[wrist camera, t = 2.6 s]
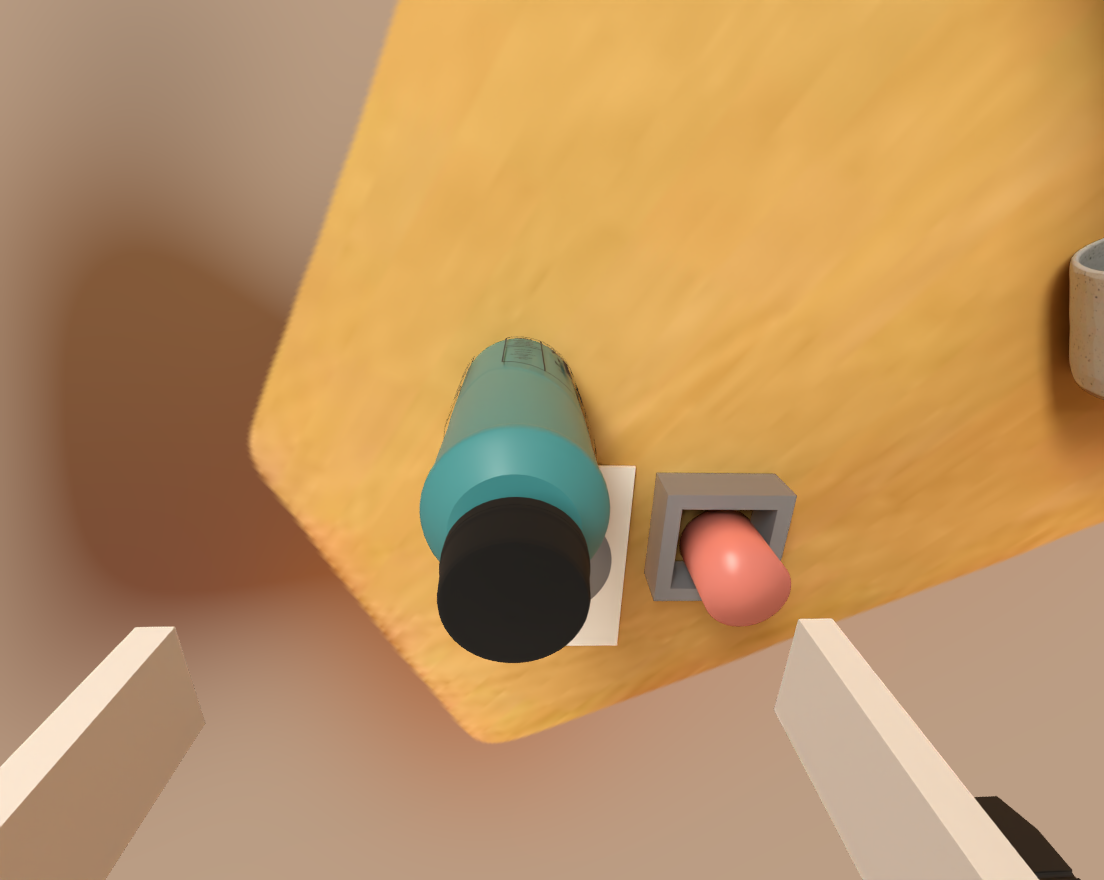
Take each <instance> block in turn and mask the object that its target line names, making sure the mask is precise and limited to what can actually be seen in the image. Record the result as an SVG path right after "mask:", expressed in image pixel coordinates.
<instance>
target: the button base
mask: <svg viewBox="0 0 1104 880" xmlns="http://www.w3.org/2000/svg"><path fill="white" fill-rule="evenodd" d="M796 498H797V495H796V494H795V493H794V492H793V491H792V490H791V489H790V488H789V487H788V486H787V485H786V484H785V483H784V482H783V481H782V480H781V479H780V478H779V477H778V476H777V475H776V474H734V473H657V474H656V482H655V490H654V498H653V506H652V514H651V522H650V530H649V538H648V546H647V554H646V562H645V570H644V574H645V576H646V579H647V582H648V585H649V588H650V591H651V594H652V597H653V600H654V601H702V599H701V597H700V595H699V593H698V591H697V588H696V586H695V584H694V582H693V580H692V578H691V575H690V573H689V571H688V569H687V567H686V565H685V563H684V561H675V555H676V548H677V541H678V535H679V528H680V521H681V515H682V509H686V510H753V511H752V516H751V523H752V524H753V525H754V527H755V528H756V529H757V531H758V532H759V533H760V535H761V536H762V537H763V539H764V540H765V541H766V543H767V544H768V545H769V547H770V548H771V549H772V551H773V552H774V553H775V555H776V556H777V557H778V559H779V560H780V561H781V558H782V554H783V550H784V546H785V542H786V538H787V534H788V530H789V526H790V522H791V518H792V514H793V510H794V506H795V502H796Z"/></svg>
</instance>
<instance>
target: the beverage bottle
mask: <svg viewBox="0 0 1104 880" xmlns="http://www.w3.org/2000/svg"><path fill="white" fill-rule="evenodd" d="M508 338H510V337H508ZM526 338H527V337H526ZM531 339H532V338H531ZM531 339H530V340H529V339H525V338H523V339H522V338H518V339H508V340H507V338H506V339H505V340H504V341H500V342H498V343H495V344H493V345H491V346H489V347H488V348H486V349H485V350H484V351H482V352H481V353H480V354H479V355H478V356H477V357H476V359H475V360H474V361H472V362H473V363H472V364H471V366H470V367H469V369H468V372H467V374H466V377H465V380H464V382H463V385H462V387H461V386H460V385H459V386H460V387H461V388H460V390H459V389H458V390H459V391H460V393H459V396H458V399H457V402H456V404H455V407H454V410H453V413H452V416H451V419H450V422H449V426H448V429H447V432H446V434H445V437H444V440H443V442H442V445H441V448H440V450H439V453H438V456H437V458H436V461H435V464H434V466H433V467H432V469H431V470H430V472H429V474H428V476H427V479H426V481H425V483H424V487H423V490H422V493H421V499H420V520H421V526H422V529H423V533H424V536H425V538H426V541H427V543H428V545H429V547H430V549H431V551H432V552H433V554H434V555H435V557H436V558H437V559H438V560H439V562H440V563H439V576H440V577H439V584H438V592H437V605H438V610H439V615H440V618H441V621H442V623H443V625H444V628H445V629H446V631H447V632H448V633H449V635H450V636H451V637H452V638H453V640H454V641H455V642H457V643H458V644H459V645H460V646H461V647H463V648H464V649H466V650H467V651H469V652H471V653H473V654H475V655H477V656H479V657H482V658H485V659H488V660H492V661H497V662H504V663H521V662H529V661H534V660H538V659H541V658H544V657H547V656H549V655H551V654H553V653H555V652H557V651H559V650H560V649H562V648H563V647H565V646H566V645H567V644H568V643H570V642H571V641H572V640H573V639H574V638H575V636H576V635H577V634H578V633H579V631H580V630H581V628H582V627H583V625H584V623H585V621H586V619H587V615H588V612H589V608H590V602H591V592H590V572H591V570H590V560H591V559H592V558H593V556H594V555H595V553H596V552H597V550H598V549H599V547H600V545H601V543H602V541H603V539H604V537H605V534H606V531H607V528H608V524H609V519H610V499H609V493H608V489H607V485H606V482H605V479H604V477H603V474H602V472H601V470H600V469H599V467H598V464H597V458H596V457H595V454H594V451H593V448H592V444H591V440H590V436H589V432H588V429H589V427H588V429H587V425H586V422H585V419H584V416H583V413H582V410H581V407H580V404H579V403H580V402H579V400H578V398H577V397H580V394H579V391H578V388H577V389H576V390H577V391H578V393H577V395H576V392H575V389H574V386H573V385H574V384H573V383H572V380H571V379H572V378H571V376H570V373H569V370H568V367H567V365H568V364H566V363H565V362H564V361H565V360H563V359H562V358H561V357H560V356H559V355H557V354H556V353H557V352H556V351H555V350H554V351H555V352H556V353H555V352H554V351H553V350H551V349H552V348H551V349H550V348H549V347H547V346H545V345H543V344H542V342H541V341H540V343H539V342H536V341H532V340H531ZM535 340H536V339H535ZM538 341H539V340H538ZM543 343H544V342H543ZM545 344H546V343H545ZM547 345H548V344H547ZM553 349H554V348H553ZM474 357H475V356H474ZM473 359H474V358H473ZM562 360H563V361H562ZM469 364H470V363H469ZM468 366H469V365H468ZM468 366H467V367H468ZM467 367H466V368H467ZM570 371H571V369H570ZM571 373H572V372H571ZM464 374H465V373H464ZM572 375H573V374H572ZM463 377H464V375H463V376H462V378H463ZM462 380H463V379H462ZM461 382H462V381H461ZM573 382H574V381H573ZM575 384H576V383H575ZM576 387H577V386H576ZM459 391H458V392H459ZM578 394H579V395H578ZM457 395H458V394H456V395H455V396H457ZM455 400H456V399H455ZM580 400H581V397H580ZM454 403H455V402H454ZM581 403H583V402H582V400H581ZM451 406H452V405H451ZM581 406H583V405H581ZM450 408H451V407H450ZM452 408H453V407H452ZM582 408H583V407H582ZM451 411H452V410H451ZM584 411H585V410H584ZM450 413H451V412H450ZM585 414H586V413H585ZM449 416H450V415H449ZM448 419H449V418H448ZM446 421H448V420H446ZM589 423H590V422H589ZM446 424H447V423H446ZM445 427H446V426H445ZM444 433H445V431H444ZM594 442H595V441H594ZM595 447H596V446H595ZM595 452H596V448H595Z"/></svg>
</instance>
